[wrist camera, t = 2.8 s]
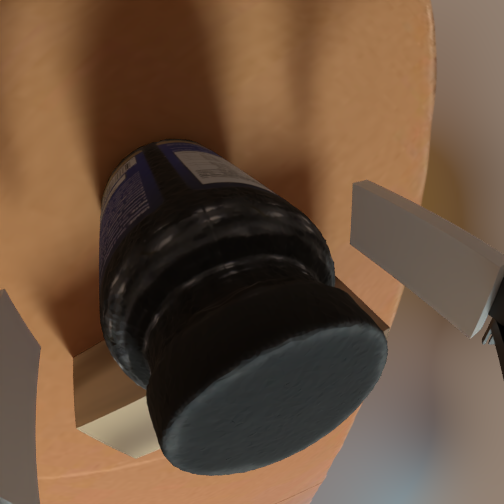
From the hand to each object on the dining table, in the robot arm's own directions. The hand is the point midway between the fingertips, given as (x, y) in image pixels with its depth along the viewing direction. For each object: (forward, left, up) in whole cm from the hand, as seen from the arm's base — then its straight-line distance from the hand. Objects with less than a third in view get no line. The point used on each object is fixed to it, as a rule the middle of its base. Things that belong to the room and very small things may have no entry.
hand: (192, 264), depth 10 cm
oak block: (+9, -5, -5) cm, 11 cm away
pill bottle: (0, 0, -5) cm, 5 cm away
